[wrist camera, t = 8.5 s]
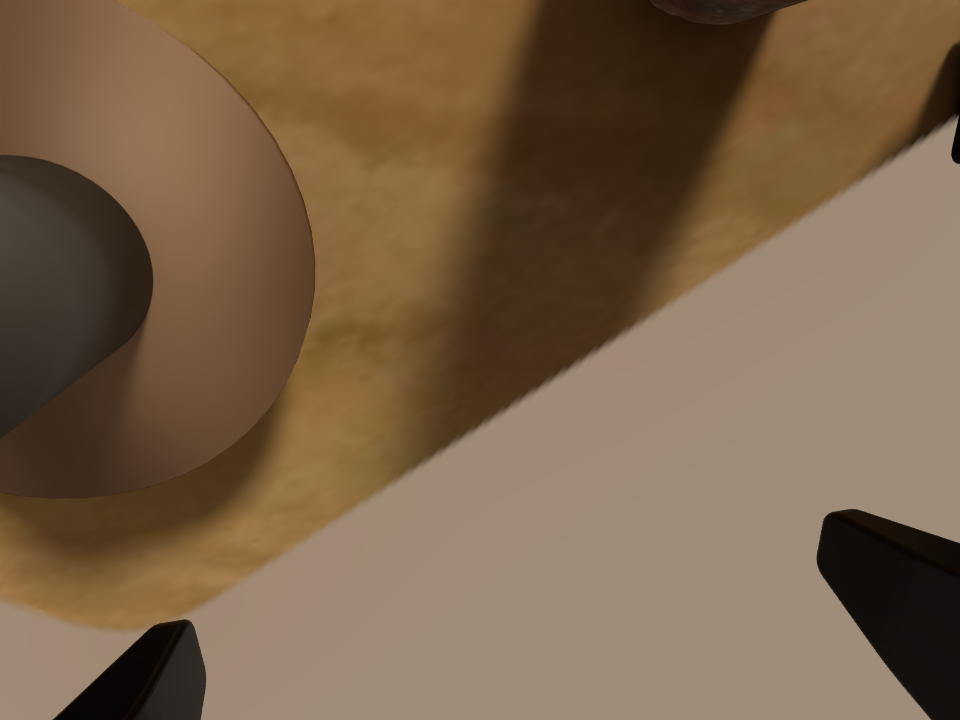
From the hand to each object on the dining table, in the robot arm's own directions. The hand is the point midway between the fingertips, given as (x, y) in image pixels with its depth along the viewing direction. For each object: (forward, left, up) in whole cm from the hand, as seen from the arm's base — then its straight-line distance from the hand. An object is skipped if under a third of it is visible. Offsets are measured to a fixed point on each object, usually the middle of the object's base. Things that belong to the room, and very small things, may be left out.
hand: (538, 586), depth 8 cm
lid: (+8, -4, -7) cm, 11 cm away
